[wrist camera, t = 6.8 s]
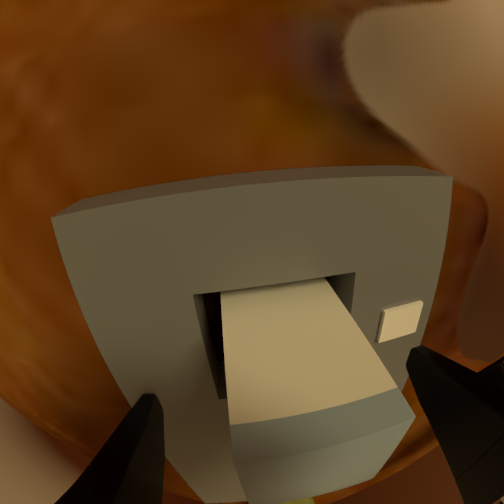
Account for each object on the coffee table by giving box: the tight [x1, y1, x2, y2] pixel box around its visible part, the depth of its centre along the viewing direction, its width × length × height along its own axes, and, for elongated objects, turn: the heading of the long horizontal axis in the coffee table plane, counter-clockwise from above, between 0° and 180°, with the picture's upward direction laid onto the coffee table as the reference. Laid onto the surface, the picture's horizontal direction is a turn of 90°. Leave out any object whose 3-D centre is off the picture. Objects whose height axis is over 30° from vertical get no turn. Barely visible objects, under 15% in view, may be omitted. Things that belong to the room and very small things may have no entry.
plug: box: [220, 277, 416, 504], centre depth 9 cm, size 4×4×8 cm
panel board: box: [51, 166, 453, 503], centre depth 14 cm, size 14×26×3 cm, turn 5°
